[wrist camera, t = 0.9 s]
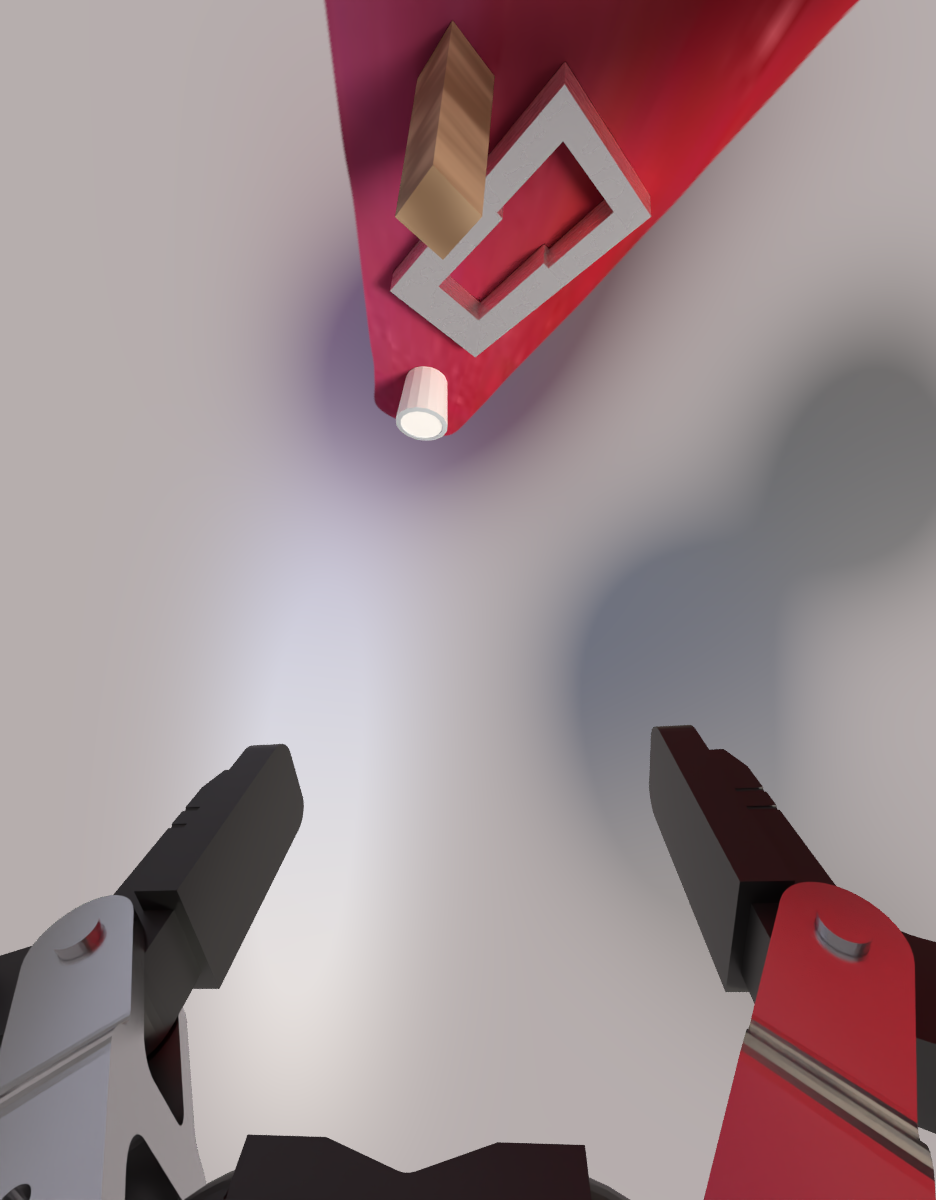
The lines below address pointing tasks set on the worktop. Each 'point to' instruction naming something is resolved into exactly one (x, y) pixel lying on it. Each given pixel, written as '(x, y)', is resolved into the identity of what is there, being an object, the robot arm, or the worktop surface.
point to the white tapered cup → (423, 404)
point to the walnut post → (447, 145)
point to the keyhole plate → (509, 166)
